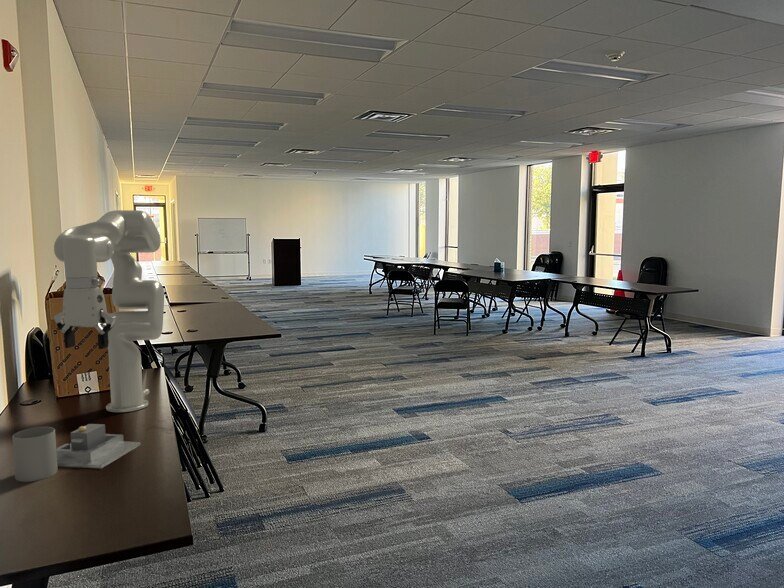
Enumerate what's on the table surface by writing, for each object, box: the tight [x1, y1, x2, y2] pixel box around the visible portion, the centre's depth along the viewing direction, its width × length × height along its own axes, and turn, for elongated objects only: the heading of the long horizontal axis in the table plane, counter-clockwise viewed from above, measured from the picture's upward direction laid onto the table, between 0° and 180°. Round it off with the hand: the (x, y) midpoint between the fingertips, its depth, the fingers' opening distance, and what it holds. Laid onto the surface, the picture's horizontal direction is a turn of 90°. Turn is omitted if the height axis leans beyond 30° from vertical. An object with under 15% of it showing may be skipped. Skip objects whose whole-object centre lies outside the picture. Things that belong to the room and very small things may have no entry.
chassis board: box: [56, 433, 142, 469], centre depth 146 cm, size 16×18×3 cm
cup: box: [11, 426, 59, 482], centre depth 133 cm, size 8×8×10 cm
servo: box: [69, 423, 107, 450], centre depth 146 cm, size 9×4×7 cm, turn 172°
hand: (86, 347), depth 152 cm, fingers open, 9 cm apart
